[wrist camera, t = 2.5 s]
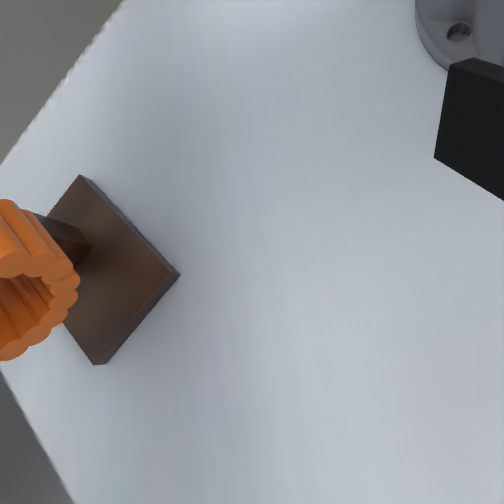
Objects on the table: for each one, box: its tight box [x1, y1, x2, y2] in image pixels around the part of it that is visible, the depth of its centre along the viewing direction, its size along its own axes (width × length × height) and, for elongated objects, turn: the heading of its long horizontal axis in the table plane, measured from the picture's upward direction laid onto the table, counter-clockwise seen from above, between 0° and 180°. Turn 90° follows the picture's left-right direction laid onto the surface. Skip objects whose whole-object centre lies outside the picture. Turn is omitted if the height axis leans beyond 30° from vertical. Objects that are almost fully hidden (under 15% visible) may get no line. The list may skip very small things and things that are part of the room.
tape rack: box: [19, 175, 180, 365], centre depth 28 cm, size 16×10×18 cm, turn 46°
